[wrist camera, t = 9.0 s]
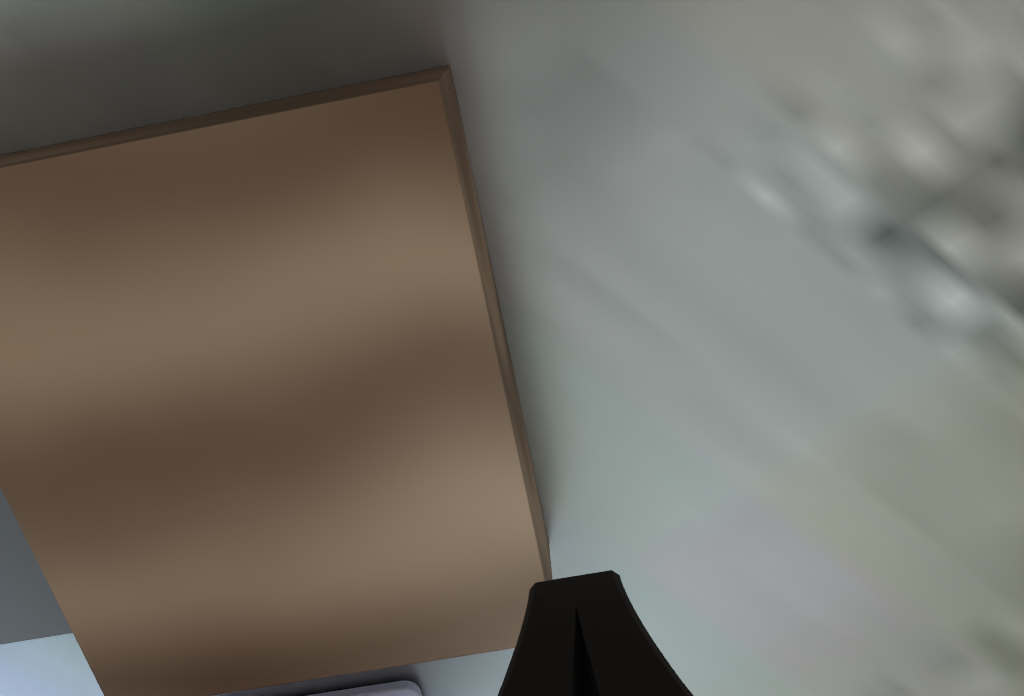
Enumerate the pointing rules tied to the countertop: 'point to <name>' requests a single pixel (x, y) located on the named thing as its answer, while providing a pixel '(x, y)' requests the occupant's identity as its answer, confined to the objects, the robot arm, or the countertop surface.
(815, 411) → the countertop surface
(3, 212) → the flat brown box
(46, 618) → the mat
